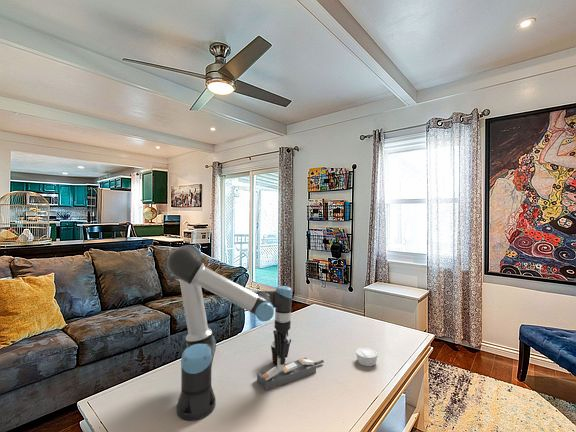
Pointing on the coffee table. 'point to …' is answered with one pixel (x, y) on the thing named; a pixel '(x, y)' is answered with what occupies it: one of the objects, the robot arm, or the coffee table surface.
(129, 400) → the coffee table surface
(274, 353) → the coffee mug
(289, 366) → the rocker
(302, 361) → the block
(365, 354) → the ramekin
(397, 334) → the coffee table surface
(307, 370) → the power strip
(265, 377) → the block
